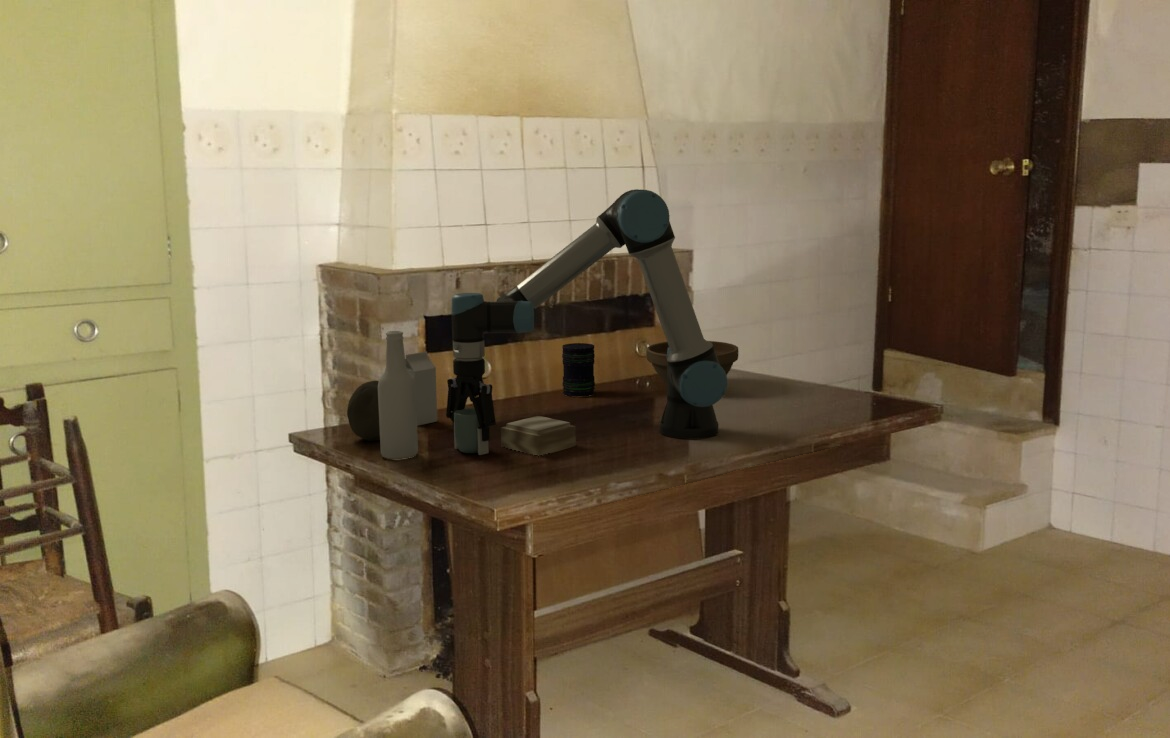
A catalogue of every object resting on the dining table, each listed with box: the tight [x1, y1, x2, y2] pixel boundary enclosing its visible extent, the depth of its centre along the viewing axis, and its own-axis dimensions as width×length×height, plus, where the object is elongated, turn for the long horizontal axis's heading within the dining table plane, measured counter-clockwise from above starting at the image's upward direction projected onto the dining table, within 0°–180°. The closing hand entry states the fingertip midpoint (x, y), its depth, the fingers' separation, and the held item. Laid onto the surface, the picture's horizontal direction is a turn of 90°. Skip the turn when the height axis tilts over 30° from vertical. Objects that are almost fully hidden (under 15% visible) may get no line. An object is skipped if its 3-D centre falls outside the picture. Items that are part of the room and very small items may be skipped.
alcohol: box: [378, 330, 419, 459], centre depth 249 cm, size 9×9×30 cm
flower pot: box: [645, 340, 739, 385], centre depth 326 cm, size 28×28×13 cm
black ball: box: [346, 380, 380, 442], centre depth 266 cm, size 14×14×15 cm
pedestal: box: [500, 415, 577, 457], centre depth 259 cm, size 13×13×6 cm
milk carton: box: [405, 351, 438, 427], centre depth 284 cm, size 7×7×19 cm
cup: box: [454, 407, 485, 454], centre depth 254 cm, size 8×8×10 cm
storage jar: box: [561, 342, 596, 397], centre depth 319 cm, size 10×10×15 cm
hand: (471, 450), depth 255 cm, fingers closed on cup, 8 cm apart
